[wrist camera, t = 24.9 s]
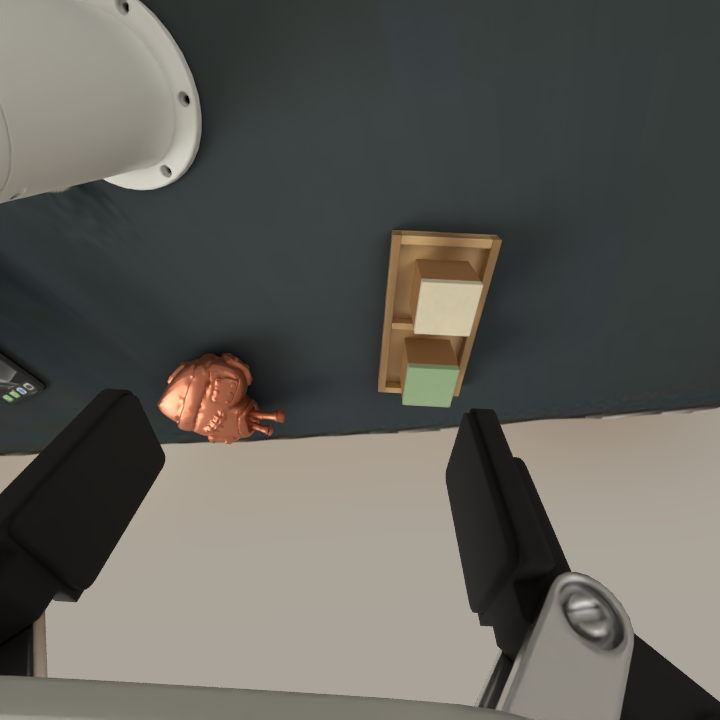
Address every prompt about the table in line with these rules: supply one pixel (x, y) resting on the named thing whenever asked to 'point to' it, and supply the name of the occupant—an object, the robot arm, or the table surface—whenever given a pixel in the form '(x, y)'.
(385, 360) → the wooden divided tray
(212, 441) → the heart
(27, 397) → the smartphone
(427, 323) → the pad cream
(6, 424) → the table surface
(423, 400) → the pad sage
